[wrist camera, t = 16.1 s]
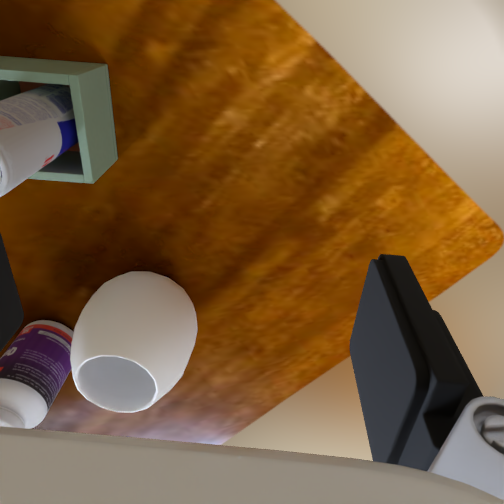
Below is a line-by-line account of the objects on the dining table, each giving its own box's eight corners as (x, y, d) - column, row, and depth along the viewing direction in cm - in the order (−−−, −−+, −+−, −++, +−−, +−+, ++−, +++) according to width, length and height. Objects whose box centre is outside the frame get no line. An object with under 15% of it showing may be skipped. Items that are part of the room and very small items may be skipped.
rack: (-48, 146, 43) (-98, 168, 37) (-79, 49, 38) (-142, 58, 32) (118, 159, 43) (93, 184, 37) (107, 63, 38) (77, 75, 32)
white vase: (197, 346, 56) (177, 435, 45) (100, 331, 55) (54, 416, 44) (208, 267, 49) (188, 348, 38) (98, 248, 49) (43, 324, 37)
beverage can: (21, 98, 39) (-103, 145, 26) (68, 71, 38) (-39, 107, 25) (59, 151, 42) (-37, 217, 29) (104, 127, 40) (23, 186, 27)
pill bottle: (32, 307, 54) (-41, 397, 42) (90, 331, 56) (38, 424, 43) (18, 345, 58) (-51, 438, 45) (74, 367, 59) (21, 462, 47)
